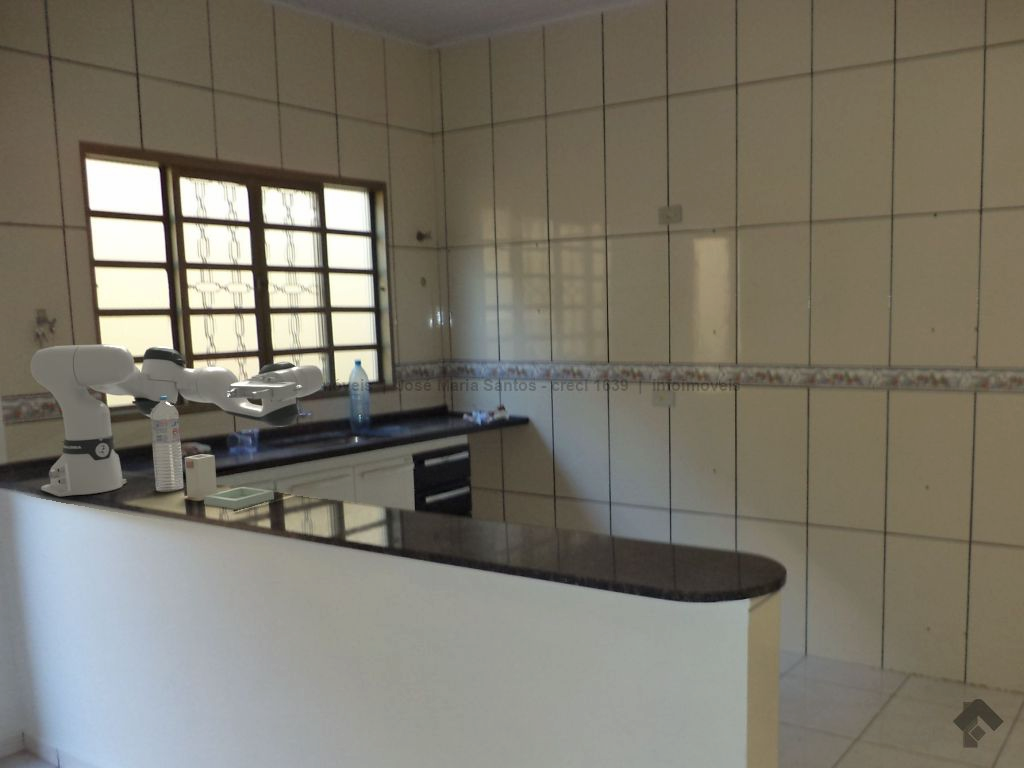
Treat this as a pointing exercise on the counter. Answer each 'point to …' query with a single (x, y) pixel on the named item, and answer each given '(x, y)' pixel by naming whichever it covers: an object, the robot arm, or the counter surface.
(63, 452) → the robot arm
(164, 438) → the water bottle
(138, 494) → the counter surface
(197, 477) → the sleeve
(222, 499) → the tray
